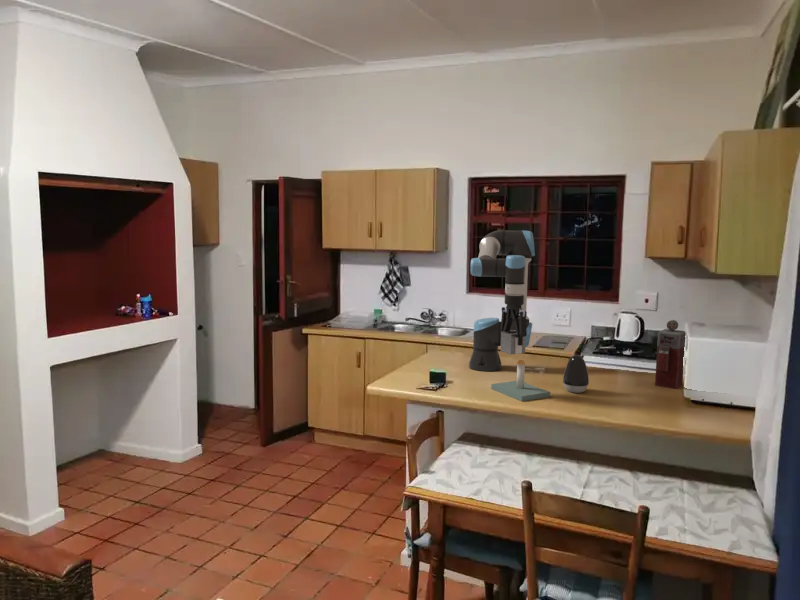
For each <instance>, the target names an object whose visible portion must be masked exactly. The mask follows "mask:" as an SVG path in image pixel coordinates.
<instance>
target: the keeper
mask: <svg viewBox="0 0 800 600" xmlns="http://www.w3.org/2000/svg"><path fill="white" fill-rule="evenodd" d="M525 370H526V363H525V361H524V360H523V359H519V360H517V364H516V380H511V381H506V382H504V381H503V382H497V383H496V382H495V383H491V387H490V388H491V389H492V390H493V391H496V392H499V393H501V394H504V395H505V396H508V397H510V398H513V399H515V400H517V401H520V402H525V401H533V400H538V399H545V398H551V391H549V390H546V389H543V388H540V387H538V386H535V385H533V384H530V383H527V382H525V374H526V373H525Z"/></svg>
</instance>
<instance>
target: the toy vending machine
mask: <svg viewBox="0 0 800 600" xmlns="http://www.w3.org/2000/svg"><path fill="white" fill-rule="evenodd" d="M666 327H667V328H664V329H662V330H660V331H658V333H657V344H656V345H657V349H656V361H655V377H654V378H655V380H654V386H655V387H661V388H669V389H674V390H678V389H679V388H680V387H682V386H683V378H684V366H683V357H684V358H685V351H684V347H686V337H685V336H686V334H687V333H686V331H685V330H678V328H679V323H678V321H677V320H675V319H671V320H669V321H668V322H666Z"/></svg>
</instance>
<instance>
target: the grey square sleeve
mask: <svg viewBox="0 0 800 600" xmlns="http://www.w3.org/2000/svg"><path fill="white" fill-rule="evenodd" d="M519 334H520V333H519ZM515 336H517V334H516V330H513V331H501V346H500V352H502V353H506V354H508V355H516V354H515ZM525 345H526V336H524V337H523V344H522V353H519V354H526V347H525Z"/></svg>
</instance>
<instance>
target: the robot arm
mask: <svg viewBox="0 0 800 600" xmlns="http://www.w3.org/2000/svg"><path fill="white" fill-rule="evenodd" d="M478 247H479V253H478V257H474V258H471V260H470V275H472V277H473V276H474V277H479V278H480V277H486V278H487V277H490V278H491V277H492V278H493V277H494V278H497V277H498V278H501V277H502V278H505V282H504V283H505V286H504V287H505V288H504V293H505V295H504V304H505V305H506V306H503V307H501V321H500V318H498V317H485V318H480V319H477V320H475V321H474V322H473V330H472V332H473V342H472V344H473V345H472V352H471V356H470V360H469V362H468V367H469V368H470V369H471V370H474V371H479V372H495V371H496V372H497V371H500V370H501V369H502V361H501V357H500V353H499V347H501V331H513V330H516V334H517V336H515V354H514V355H518V354H519V353H520V354H523V353H522V344H523V337H524V336H526V345H525V348H527V347H529V345H530V341H531V335H532V328H533V322H531V321H530V318H529V317H528V315H527V314H528V312H527V303H528V301H527V300H528V279H529V278H528V276H529V275H528V274H529V263H530V262H531V261H532V259H533V258H532V257H534V256H536V253H535V251H536V250H535V242H534V233H533V232H532V231H531V230H523V229H522V230H521V229H520V230H507V229H506V230H505V229H504V230H503V229H502V230H501V229H500V230H499V229H498V230H495V231H492V232H490V233H488V234H486V235H485V236H483V238H482V239H480V242H479V246H478ZM497 256H506V257H505V258H497ZM519 333H520V334H519Z"/></svg>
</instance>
